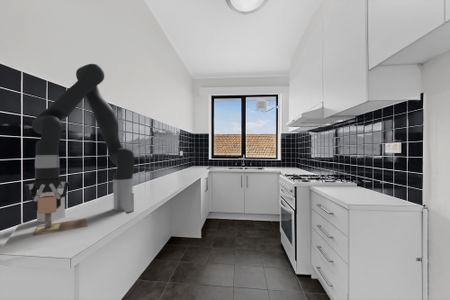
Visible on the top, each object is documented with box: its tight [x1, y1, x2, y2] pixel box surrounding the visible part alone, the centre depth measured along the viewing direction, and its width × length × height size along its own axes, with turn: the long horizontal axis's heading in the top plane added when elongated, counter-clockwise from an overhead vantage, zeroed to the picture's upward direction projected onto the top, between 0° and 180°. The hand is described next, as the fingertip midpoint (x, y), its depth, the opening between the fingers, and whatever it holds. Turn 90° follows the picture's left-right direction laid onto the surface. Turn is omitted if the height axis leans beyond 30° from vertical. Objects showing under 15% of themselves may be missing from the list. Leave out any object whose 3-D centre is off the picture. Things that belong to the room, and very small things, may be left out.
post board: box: [32, 213, 88, 237], centre depth 90 cm, size 17×13×9 cm
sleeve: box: [38, 195, 57, 214], centre depth 88 cm, size 6×6×6 cm
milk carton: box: [36, 184, 66, 223], centre depth 100 cm, size 7×7×19 cm
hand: (47, 209), depth 88 cm, fingers closed on sleeve, 5 cm apart
